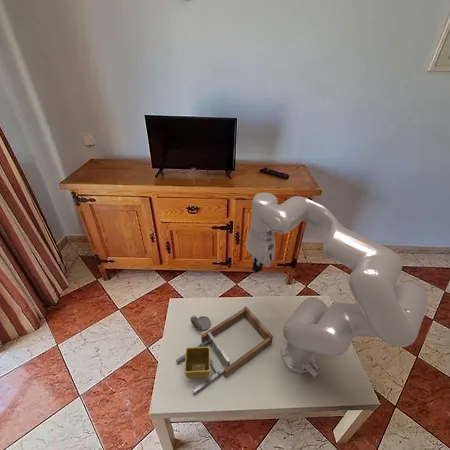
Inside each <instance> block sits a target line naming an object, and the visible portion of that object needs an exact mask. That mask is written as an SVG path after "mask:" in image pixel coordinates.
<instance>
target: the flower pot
mask: <svg viewBox="0 0 450 450" xmlns="http://www.w3.org/2000/svg"><path fill="white" fill-rule="evenodd" d="M185 354H186V355H185V360H184V374H185V376H186V378H188V379H192V380H193V379H208V378H209V376H210V374H211V365H210V358H211V346H206V347H197V346H195V347H194V346H192V347H191V346H190V347H185Z"/></svg>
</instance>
